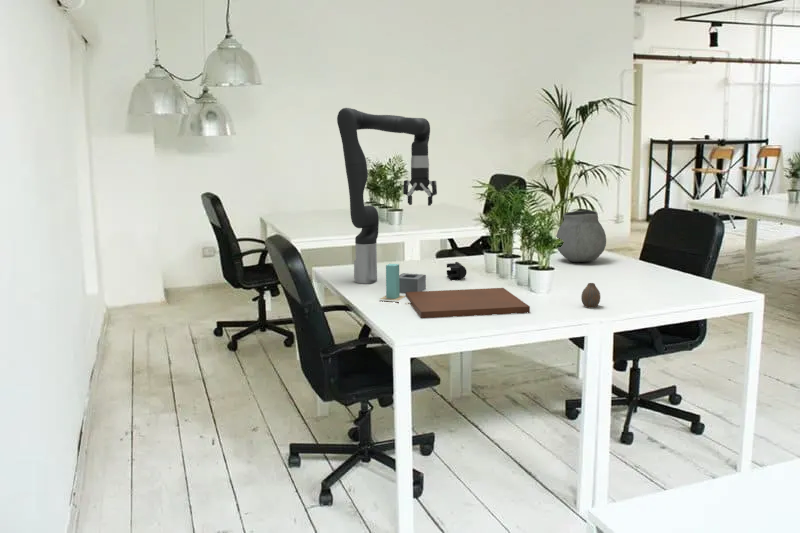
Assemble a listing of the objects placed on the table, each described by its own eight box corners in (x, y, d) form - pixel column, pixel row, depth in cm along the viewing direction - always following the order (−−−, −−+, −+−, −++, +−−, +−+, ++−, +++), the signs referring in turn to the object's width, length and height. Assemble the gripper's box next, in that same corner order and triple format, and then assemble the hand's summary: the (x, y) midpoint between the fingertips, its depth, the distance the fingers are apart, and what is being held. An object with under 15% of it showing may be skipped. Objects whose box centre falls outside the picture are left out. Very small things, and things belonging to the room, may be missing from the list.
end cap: (466, 280, 332) (466, 265, 330) (450, 281, 331) (450, 265, 330) (461, 276, 341) (461, 261, 340) (446, 276, 341) (446, 261, 339)
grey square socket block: (394, 294, 304) (394, 277, 303) (403, 289, 314) (403, 273, 312) (417, 296, 301) (417, 279, 300) (425, 291, 310) (425, 274, 309)
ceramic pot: (552, 257, 387) (554, 208, 382) (601, 257, 384) (603, 209, 380) (557, 266, 363) (559, 214, 358) (609, 266, 361) (611, 214, 356)
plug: (386, 298, 294) (385, 265, 292) (390, 296, 298) (389, 263, 295) (395, 298, 292) (395, 266, 290) (399, 296, 296) (399, 264, 294)
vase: (588, 303, 286) (589, 280, 285) (603, 306, 281) (604, 283, 279) (577, 306, 282) (578, 283, 280) (592, 309, 277) (593, 286, 275)
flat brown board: (529, 314, 273) (503, 295, 305) (529, 306, 272) (503, 287, 304) (421, 320, 267) (405, 299, 299) (421, 311, 266) (405, 292, 298)
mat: (379, 301, 293) (379, 298, 293) (387, 297, 300) (387, 294, 300) (398, 302, 290) (398, 300, 290) (406, 298, 297) (406, 296, 297)
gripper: (400, 166, 314) (401, 205, 317) (433, 167, 309) (433, 206, 312) (407, 165, 321) (407, 203, 324) (438, 166, 316) (438, 204, 319)
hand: (420, 205), depth 318 cm, fingers open, 8 cm apart
